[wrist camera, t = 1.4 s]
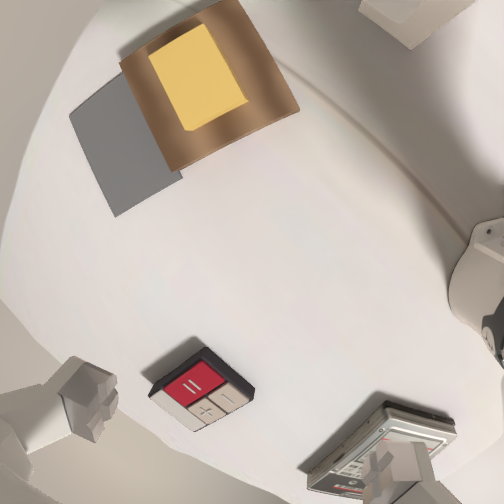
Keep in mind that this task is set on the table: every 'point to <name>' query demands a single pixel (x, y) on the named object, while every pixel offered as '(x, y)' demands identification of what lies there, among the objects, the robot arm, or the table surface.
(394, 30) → the block
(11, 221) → the table surface
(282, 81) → the panel
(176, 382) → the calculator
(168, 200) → the table surface
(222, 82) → the yellow rectangular block
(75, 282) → the table surface
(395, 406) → the hard drive
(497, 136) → the table surface
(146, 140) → the mat
